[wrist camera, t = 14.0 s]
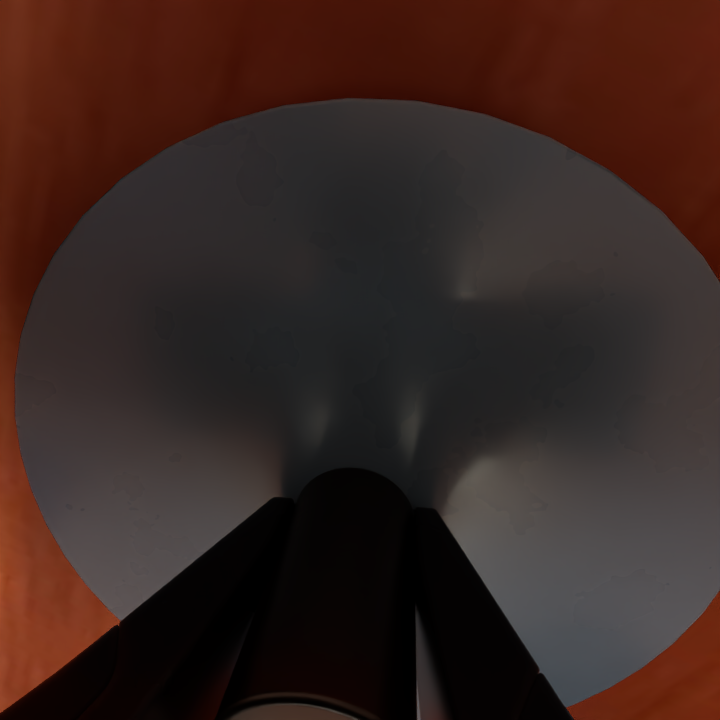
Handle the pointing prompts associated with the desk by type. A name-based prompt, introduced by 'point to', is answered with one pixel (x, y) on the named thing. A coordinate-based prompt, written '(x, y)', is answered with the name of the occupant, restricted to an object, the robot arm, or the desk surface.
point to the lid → (383, 394)
